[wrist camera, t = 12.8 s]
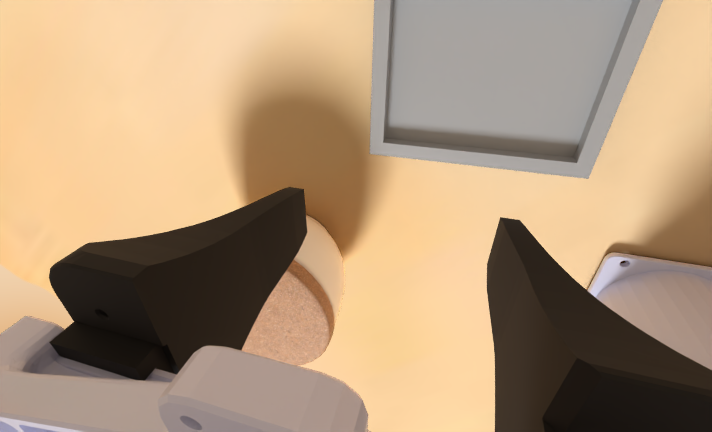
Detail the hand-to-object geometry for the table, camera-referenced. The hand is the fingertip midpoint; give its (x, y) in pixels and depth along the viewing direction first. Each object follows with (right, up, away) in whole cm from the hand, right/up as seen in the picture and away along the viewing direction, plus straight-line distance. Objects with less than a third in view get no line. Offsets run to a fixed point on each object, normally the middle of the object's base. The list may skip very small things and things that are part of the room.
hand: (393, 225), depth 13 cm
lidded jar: (-6, -2, +16) cm, 17 cm away
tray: (+6, +8, +5) cm, 11 cm away
